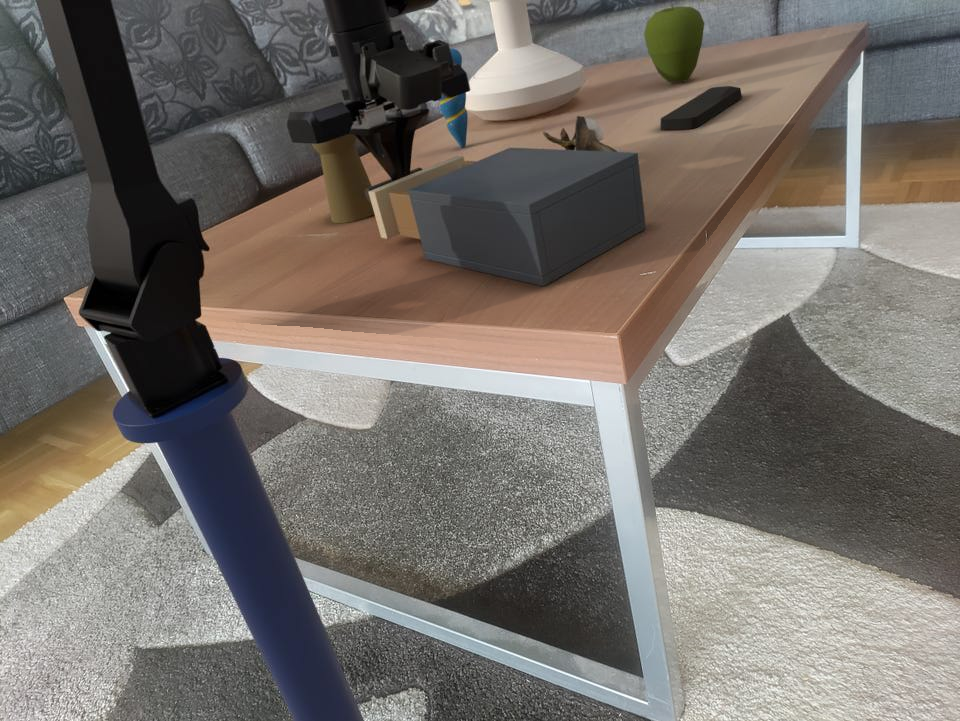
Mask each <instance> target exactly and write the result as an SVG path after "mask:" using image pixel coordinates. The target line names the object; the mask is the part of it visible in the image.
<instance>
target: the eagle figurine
mask: <svg viewBox="0 0 960 721" xmlns="http://www.w3.org/2000/svg"><path fill="white" fill-rule="evenodd" d="M542 134H543V136H544V137H545V138H546V140H548V141H549V142H551V143H553V144H557V145H559V146H561V148H564V150H581V151H606V152H618V150H616V149H615V148H613V147H612V146H609V145H607V144H605V143H603V142H601V141H602V140H604V134H603V131H602V129H601V126H600V125H599V122H598V121H596V120H595V119H594V118H591V117H585V116H581V115H580V116H579V115H577V116H576V120H575V129H574V134H573V136H572V139H570V136H569V134H568V132H567V131H566V129H565V128H564V127H562V128H561V130H560V138H558V137H555V136H553V135H551V134H549V132H546V131H543V132H542Z"/></svg>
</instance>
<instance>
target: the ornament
mask: <svg viewBox="0 0 960 721" xmlns="http://www.w3.org/2000/svg"><path fill="white" fill-rule="evenodd" d="M437 40H439V38H438V37H437V38H436V39H435V40H434V41H437ZM449 48H450V47H449ZM450 51H451V54H452V58H453V62H454V64H459V65H460V66H461V67H462V65H463V57H462V54H461V52H460V51H459V50H457V49H455V48H450ZM438 102H439V108H440V112H441V114H442V116H443V117H444V119H445V121H446V128H447V131H449V133H450V135H451V136H452V137H453V139H454V140H455V141H456V144H458V146H459V147H460V148H461V149H463V148H466V146H467V136H468V135H467V134H468V119H469V118H468V116H469V115H468V111H467V110H466V108H465V104H466V93H463V94H460V95H457V96H454V97H452V98H447V97H446V96H444V95H443V94H442V98H441V99H440V100H438Z"/></svg>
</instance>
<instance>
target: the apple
mask: <svg viewBox="0 0 960 721" xmlns="http://www.w3.org/2000/svg"><path fill="white" fill-rule="evenodd" d="M702 16H703V15H702V14H701V12H700V11H699V10H697V9H696V8H694V7H693V6H681V5H680V6H673V3H672V2H671V7H667V8H663V9H661V10H658V11H655V12H654V14H653V15H651V17H650V18H649V19H648V20H647V21H646V24H645V29H644V33H643V37H644V40H645V41H644V42H645V45H646V48H647V52H648V53H647V54H648V55H649V57H650V59H651V61H652V64H653V65H654V67H655V69H656V71H657V74H659V75H660V76H661V77H662V78H663V79H664V80H665V81H666V82H667V83H668V84H673V83H674V84H676V83H681V82H687V81H689V80H690V78H691V77H692V75H693V73H694V71H695V69H696V68H697V65H698V60H699V57H700V52H701V48H702V45H703V39H704V38H703V37H704V30H705V21H704V19H703V17H702Z"/></svg>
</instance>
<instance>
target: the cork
mask: <svg viewBox="0 0 960 721" xmlns="http://www.w3.org/2000/svg"><path fill="white" fill-rule="evenodd" d="M357 140H358V139H357V138H356V137H355V135H350V134H347V135H344V136H342V137H339V138H336V139H333V140H330V141H327V142H324V143H319V144H311V146H312V147H313V149H314V150H315V151H316V152H317V153H318V154H319V156H320V161H321V167H322V174H323V180H324V185H325V191H326V197H327V202H328V208H329V209H328V210H329V214H330V220H331V222H332V223H333V224H346V223H347V224H348V223H351V222H356V221H360V220H363V219H366V218H370V217H372V216H373V215H375V214H374V210H373V207H372V203H371V202H369V201H368V200H367V199H366V197H365V189H366V188H369V187H371V186H373V185H372V183H371V181H370V179H369V176H368V173H367V171H366V169H365V166H364V163H363V162H362V159H361V157H360V155H359V152H358V149H357V147H356V141H357Z"/></svg>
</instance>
